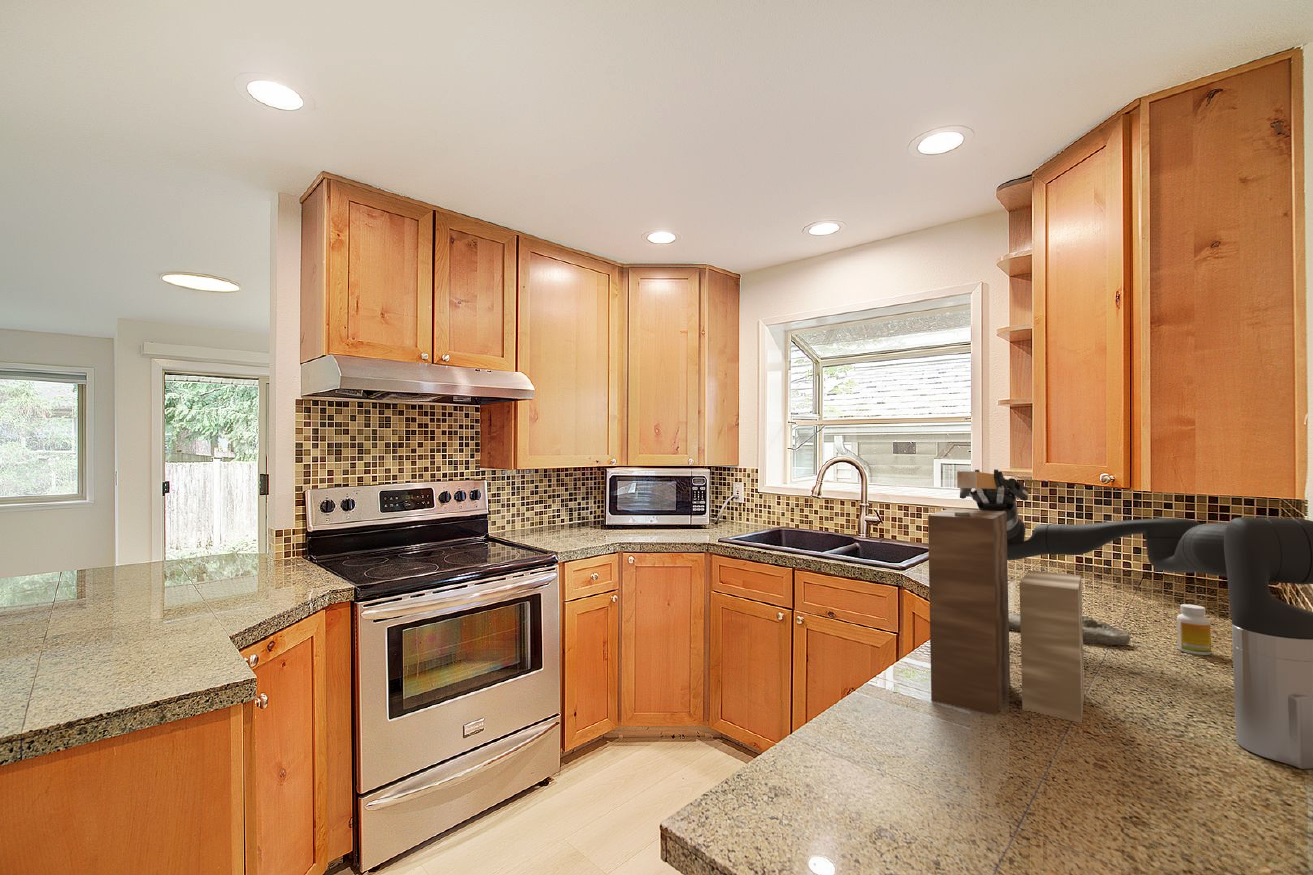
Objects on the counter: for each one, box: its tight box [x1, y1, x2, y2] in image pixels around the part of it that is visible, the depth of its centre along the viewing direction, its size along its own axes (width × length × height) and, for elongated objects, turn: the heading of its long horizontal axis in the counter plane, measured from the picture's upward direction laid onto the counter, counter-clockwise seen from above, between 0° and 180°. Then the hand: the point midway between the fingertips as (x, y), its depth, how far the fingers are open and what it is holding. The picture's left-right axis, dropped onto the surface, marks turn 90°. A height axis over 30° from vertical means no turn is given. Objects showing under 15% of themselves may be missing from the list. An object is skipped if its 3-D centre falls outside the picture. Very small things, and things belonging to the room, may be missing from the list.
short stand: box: [1019, 569, 1085, 724], centre depth 102 cm, size 14×8×21 cm, turn 143°
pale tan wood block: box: [956, 470, 998, 489], centre depth 117 cm, size 26×3×3 cm, turn 142°
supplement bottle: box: [1176, 603, 1212, 656], centre depth 127 cm, size 5×5×10 cm
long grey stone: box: [1009, 612, 1131, 646], centre depth 143 cm, size 35×5×10 cm
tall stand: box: [927, 508, 1011, 716], centre depth 106 cm, size 16×10×33 cm, turn 143°
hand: (986, 473), depth 123 cm, fingers closed on pale tan wood block, 3 cm apart
